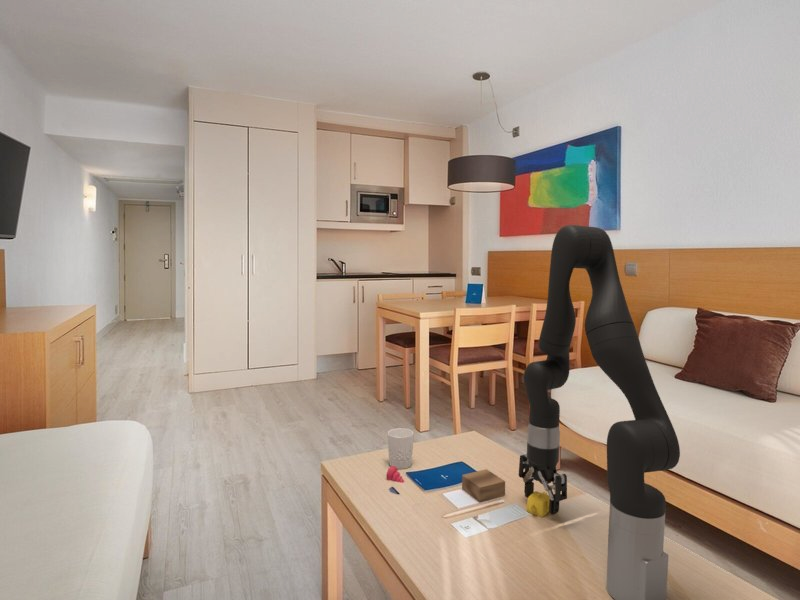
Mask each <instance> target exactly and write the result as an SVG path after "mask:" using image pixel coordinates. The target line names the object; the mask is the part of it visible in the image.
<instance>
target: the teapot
mask: <svg viewBox="0 0 800 600" xmlns="http://www.w3.org/2000/svg"><path fill="white" fill-rule="evenodd" d="M549 499H550V497H549V494H548V492H544V491H543V492H540V491H535V490H534V493H532V494H531V495H530V496H529V497H528V498H527V500H526V501H527V502H526V512H527V513H529V514H531V515H534V516H538V517H540V518H544V517H545V516H546V515H547V514H548V513H549Z"/></svg>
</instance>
